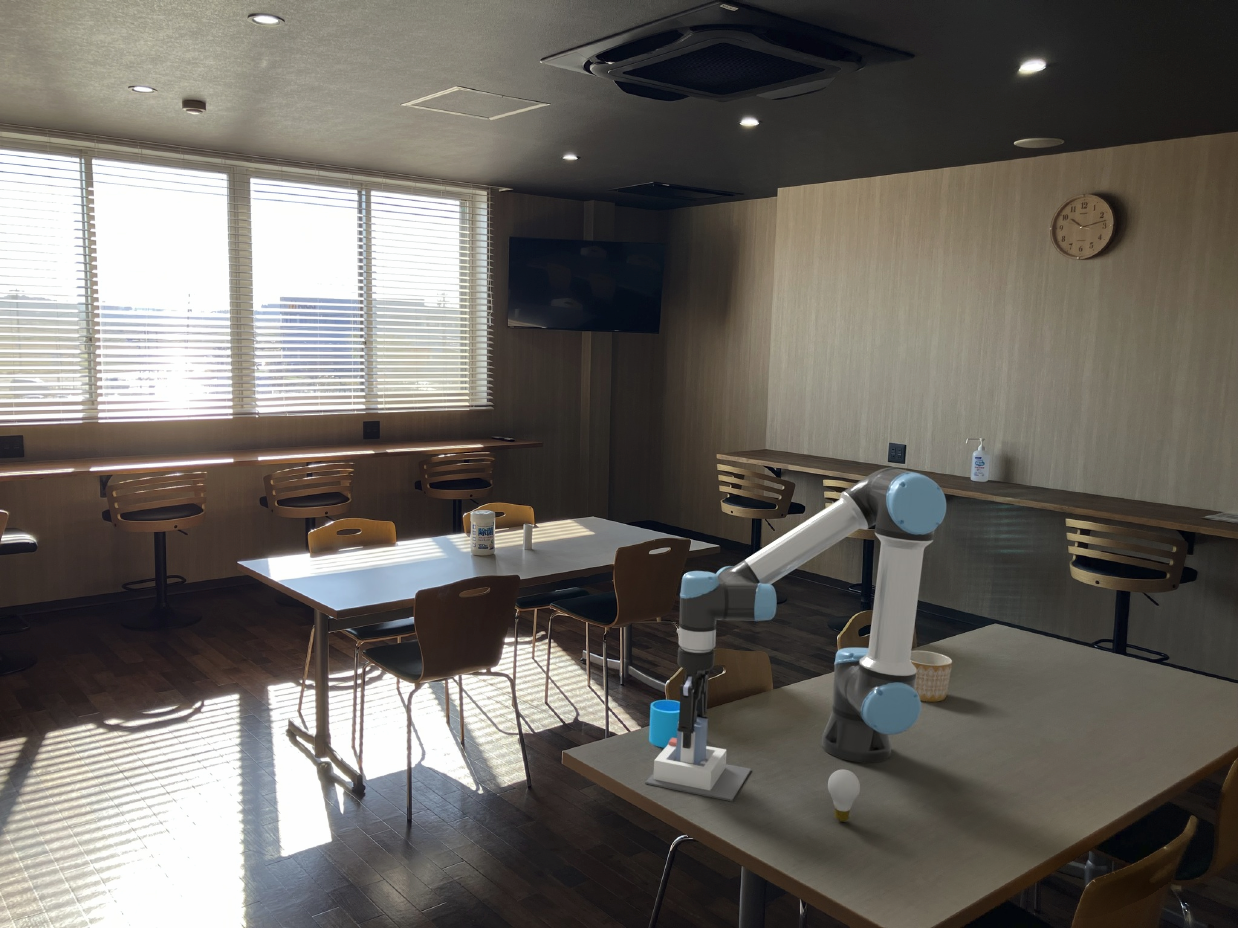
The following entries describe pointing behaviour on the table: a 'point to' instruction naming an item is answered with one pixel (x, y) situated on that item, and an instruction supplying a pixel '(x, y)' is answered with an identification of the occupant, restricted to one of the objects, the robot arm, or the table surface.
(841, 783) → the light bulb
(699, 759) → the plug
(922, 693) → the planter
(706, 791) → the socket
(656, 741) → the mug
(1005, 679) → the table surface
